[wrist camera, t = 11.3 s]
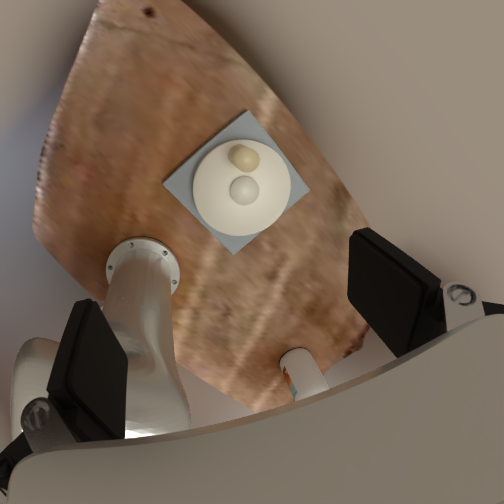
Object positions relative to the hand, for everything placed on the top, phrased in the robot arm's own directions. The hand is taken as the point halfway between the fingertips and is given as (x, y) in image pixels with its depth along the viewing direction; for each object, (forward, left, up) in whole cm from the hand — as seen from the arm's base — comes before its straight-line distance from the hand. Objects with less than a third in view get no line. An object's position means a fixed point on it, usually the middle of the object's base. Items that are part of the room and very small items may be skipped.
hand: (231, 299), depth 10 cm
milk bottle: (-13, -48, -34) cm, 61 cm away
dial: (+3, -8, -32) cm, 34 cm away
